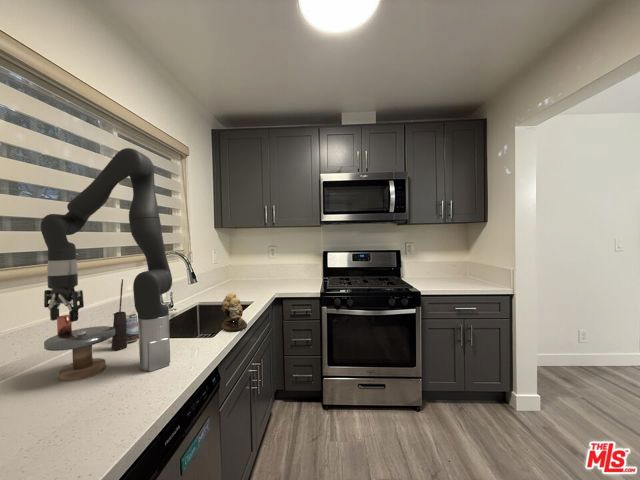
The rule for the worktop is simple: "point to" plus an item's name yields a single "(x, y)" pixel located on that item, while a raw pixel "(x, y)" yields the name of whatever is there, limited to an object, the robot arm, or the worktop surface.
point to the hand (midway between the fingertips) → (64, 320)
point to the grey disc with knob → (76, 336)
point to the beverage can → (132, 327)
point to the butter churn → (119, 328)
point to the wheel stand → (82, 365)
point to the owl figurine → (233, 313)
